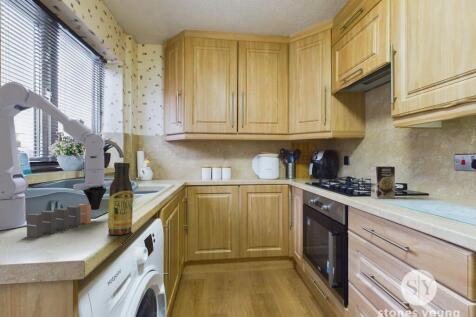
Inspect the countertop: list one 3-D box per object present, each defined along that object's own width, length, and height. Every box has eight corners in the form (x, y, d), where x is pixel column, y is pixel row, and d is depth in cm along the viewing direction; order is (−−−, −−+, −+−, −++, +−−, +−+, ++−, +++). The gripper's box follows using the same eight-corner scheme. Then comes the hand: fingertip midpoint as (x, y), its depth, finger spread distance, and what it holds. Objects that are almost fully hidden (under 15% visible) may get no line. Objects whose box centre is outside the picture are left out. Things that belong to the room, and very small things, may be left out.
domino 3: (64, 230, 76) (64, 209, 76) (54, 229, 77) (54, 209, 77) (68, 229, 77) (68, 209, 77) (59, 227, 79) (59, 208, 79)
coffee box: (377, 198, 129) (377, 166, 129) (370, 197, 136) (370, 166, 136) (395, 198, 129) (395, 166, 129) (388, 196, 136) (387, 166, 136)
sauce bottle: (113, 237, 68) (112, 162, 68) (104, 233, 73) (103, 162, 73) (137, 232, 73) (136, 162, 73) (127, 228, 77) (126, 162, 77)
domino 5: (87, 224, 83) (87, 205, 83) (77, 223, 85) (77, 204, 85) (90, 223, 85) (90, 204, 85) (81, 222, 86) (81, 203, 86)
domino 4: (76, 227, 80) (76, 207, 80) (66, 226, 81) (66, 206, 81) (80, 225, 81) (80, 206, 81) (71, 224, 82) (71, 205, 82)
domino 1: (36, 237, 69) (36, 215, 69) (26, 236, 70) (26, 214, 70) (42, 236, 70) (42, 214, 70) (32, 235, 72) (32, 213, 72)
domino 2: (51, 233, 72) (50, 212, 72) (41, 232, 74) (40, 211, 74) (56, 232, 74) (56, 211, 74) (46, 231, 75) (46, 210, 75)
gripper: (84, 170, 80) (85, 214, 80) (120, 168, 94) (120, 206, 94) (68, 170, 83) (68, 213, 83) (105, 168, 96) (105, 205, 96)
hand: (95, 209), depth 88 cm, fingers closed
